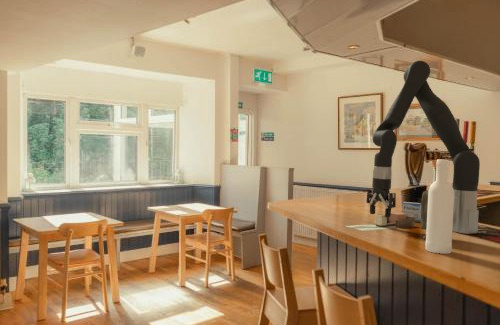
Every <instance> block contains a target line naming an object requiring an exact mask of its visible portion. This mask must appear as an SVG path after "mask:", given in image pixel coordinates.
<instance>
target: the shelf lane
mask: <svg viewBox="0 0 500 325" xmlns="http://www.w3.org/2000/svg"><path fill="white" fill-rule="evenodd" d="M387 223H389V218H387ZM415 224H416V221H415V217H412V216H407V215H406V219H403V220H396V222H395V226H385V227H377V226H376V224H374V223H368V224H355V225H345V227H347V228H350V229H354V230H358V231H362V232H368V231H369V232H371V231H372V232H373V231H380V230H381V231H382V230H383V231H384V230H391V229H393V230H394V229H395V230H396V229H405V228H414V227H415V228H416V227H417V226H416V225H415Z"/></svg>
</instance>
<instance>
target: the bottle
mask: <svg viewBox="0 0 500 325" xmlns="http://www.w3.org/2000/svg"><path fill="white" fill-rule="evenodd" d="M435 165H436V168H435V170H436V171H435V180H434V181H433V182H432V183H431V184H430V186H429V188H428V209H427V229H426V230H425V231H426V232H425V236H426V240H425V242H424V243H425V250H426V251H427V252H430V253H433V254H439V253H440V255H441V254H442V255H447V254H448V255H449V254H451V253H452V247H453V231H452V227H453V208H454V190H453V187H452V186H453V184H451V183H450V182H449V166H450V162H449V159H443V158H442V159H440V158H439V159H436V163H435Z"/></svg>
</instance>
